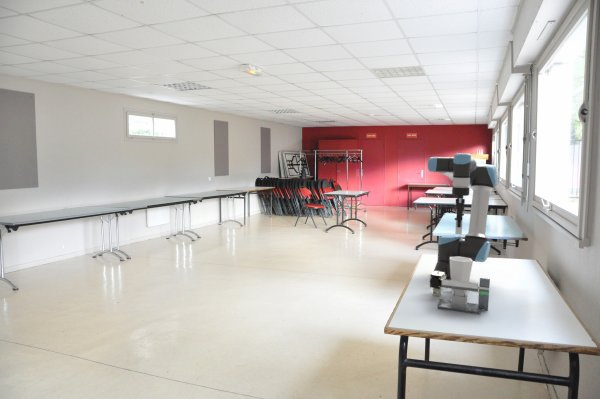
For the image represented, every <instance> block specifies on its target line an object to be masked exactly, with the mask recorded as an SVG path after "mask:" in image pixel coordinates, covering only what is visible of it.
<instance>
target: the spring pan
mask: <svg viewBox="0 0 600 399" xmlns="http://www.w3.org/2000/svg"><path fill="white" fill-rule="evenodd" d="M441 288H445V289H450V290H451V289H455V294H454V295H456V296H464V290H467V292H469V291H470V292H476V293H479V289H486V290H489V291H490V287H489V288H486V287H479V282H478V283H476V282H470V281H469V282H461V281H452V280H451V279H446V280H442V285H441Z"/></svg>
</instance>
